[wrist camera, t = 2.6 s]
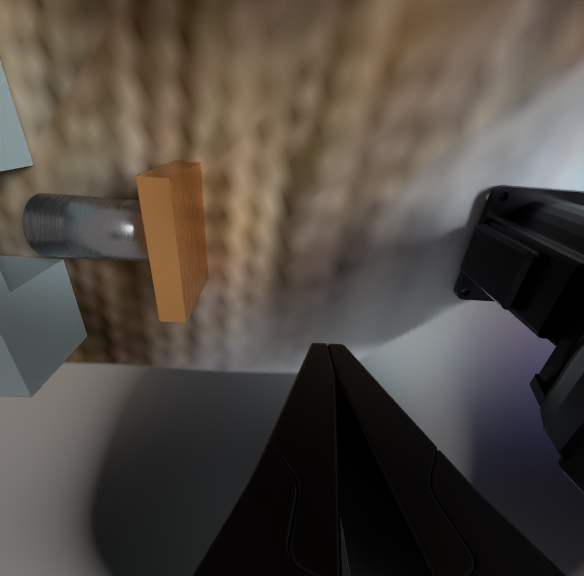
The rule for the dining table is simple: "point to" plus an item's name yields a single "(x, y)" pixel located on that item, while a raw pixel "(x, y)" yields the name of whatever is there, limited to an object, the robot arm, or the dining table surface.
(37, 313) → the block
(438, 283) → the dining table surface
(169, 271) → the pin
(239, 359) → the dining table surface
